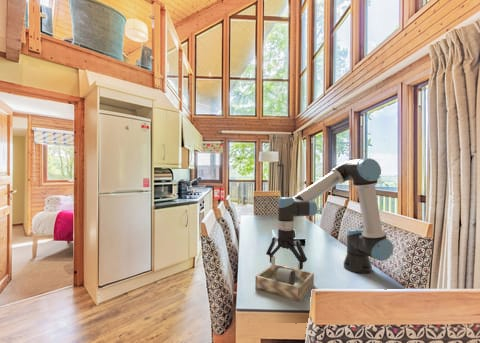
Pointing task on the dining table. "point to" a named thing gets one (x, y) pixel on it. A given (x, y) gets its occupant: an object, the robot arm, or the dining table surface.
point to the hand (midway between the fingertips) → (285, 272)
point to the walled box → (293, 292)
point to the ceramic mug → (285, 276)
